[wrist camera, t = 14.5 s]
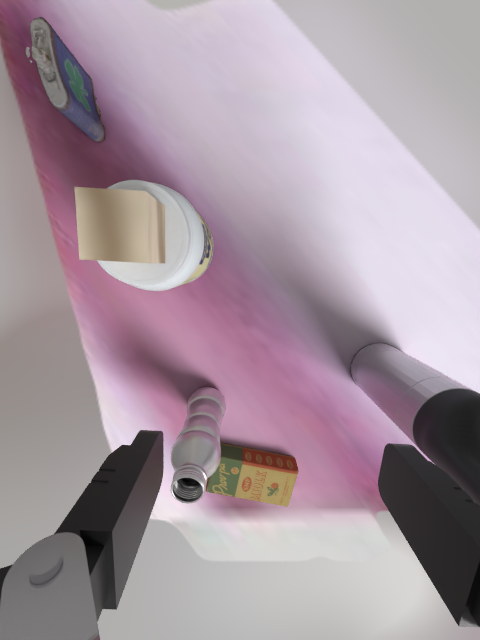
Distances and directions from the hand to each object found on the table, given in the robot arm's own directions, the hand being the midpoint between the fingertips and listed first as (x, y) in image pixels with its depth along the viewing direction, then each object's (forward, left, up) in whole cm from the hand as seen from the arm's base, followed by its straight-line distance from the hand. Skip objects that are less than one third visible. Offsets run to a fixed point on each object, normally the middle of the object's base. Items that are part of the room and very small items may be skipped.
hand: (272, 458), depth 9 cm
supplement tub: (+12, -9, -36) cm, 39 cm away
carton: (-3, +32, -37) cm, 49 cm away
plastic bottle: (+6, +18, -36) cm, 41 cm away
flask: (+25, -28, -36) cm, 52 cm away
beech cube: (+12, -9, -19) cm, 24 cm away
